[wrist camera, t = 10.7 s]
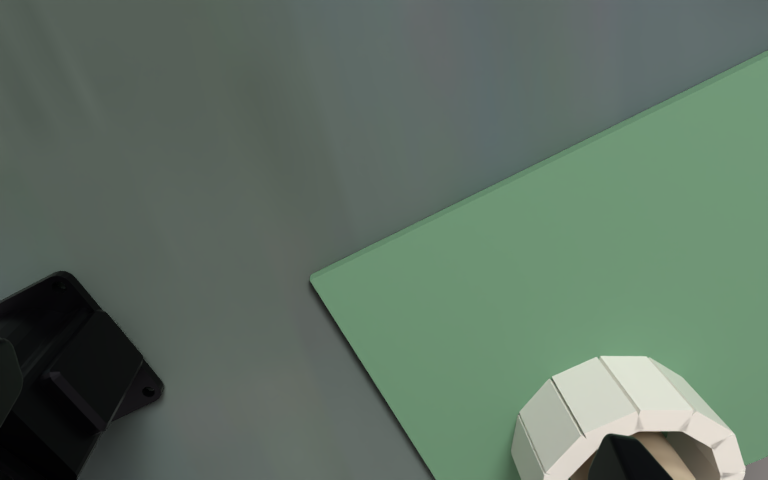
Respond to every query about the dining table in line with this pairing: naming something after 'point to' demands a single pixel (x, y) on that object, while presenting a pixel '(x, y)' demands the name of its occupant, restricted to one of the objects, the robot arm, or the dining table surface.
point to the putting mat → (578, 279)
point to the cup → (620, 419)
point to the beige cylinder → (657, 448)
